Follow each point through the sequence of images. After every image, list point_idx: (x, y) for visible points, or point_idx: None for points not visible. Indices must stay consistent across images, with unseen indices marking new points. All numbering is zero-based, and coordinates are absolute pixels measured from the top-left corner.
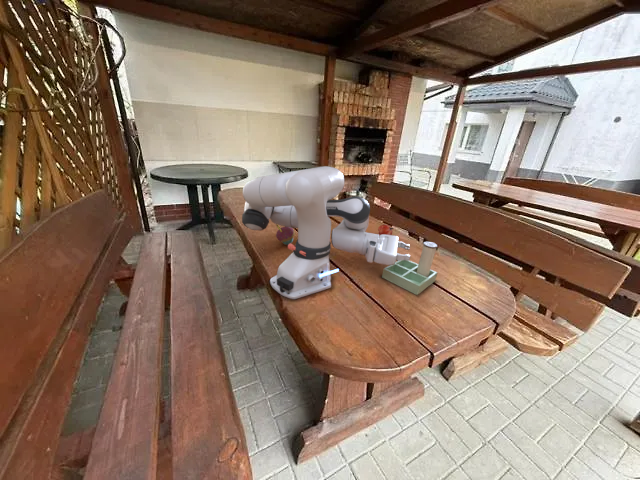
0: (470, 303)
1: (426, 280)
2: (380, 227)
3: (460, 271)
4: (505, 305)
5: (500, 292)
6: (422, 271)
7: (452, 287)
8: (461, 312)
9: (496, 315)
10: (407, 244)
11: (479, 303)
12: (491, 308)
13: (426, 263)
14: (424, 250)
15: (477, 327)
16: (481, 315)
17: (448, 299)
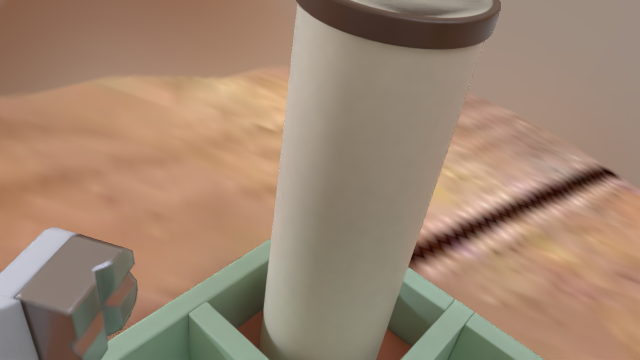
0: (510, 192)
1: (510, 337)
2: None
3: (166, 103)
4: None
5: None
6: (388, 316)
7: None
8: (635, 263)
9: (556, 148)
10: (36, 262)
11: (489, 161)
12: (508, 141)
13: (421, 226)
14: (434, 114)
15: None
16: (597, 194)
17: (530, 275)
